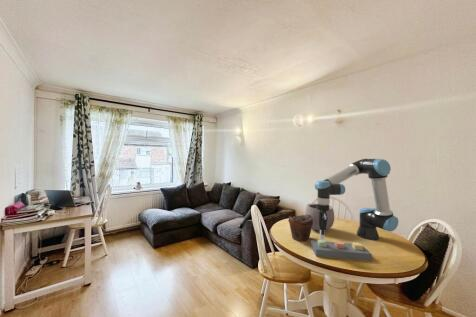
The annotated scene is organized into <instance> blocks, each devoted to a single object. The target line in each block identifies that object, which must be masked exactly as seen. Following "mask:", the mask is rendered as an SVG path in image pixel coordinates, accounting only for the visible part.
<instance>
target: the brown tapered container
mask: <svg viewBox="0 0 476 317" xmlns="http://www.w3.org/2000/svg"><path fill="white" fill-rule="evenodd" d="M287 222H288V223H289V227H290V232H291V238H292V239H293V240H295V241H298V242H307V241H309V240H310V237H311V233H312V232H311V231H312V225H313V218H312V216H311V215H305V214H301V215H296V216H294V215H292V216H291V215H289V217H288V219H287Z"/></svg>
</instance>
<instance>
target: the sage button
mask: <svg viewBox="0 0 476 317" xmlns="http://www.w3.org/2000/svg"><path fill="white" fill-rule="evenodd" d="M317 241H318V243H317V245H318V246H319V247H327V242H328V241H327V240H326V239H317Z"/></svg>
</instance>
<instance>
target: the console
mask: <svg viewBox="0 0 476 317" xmlns="http://www.w3.org/2000/svg"><path fill="white" fill-rule="evenodd" d="M326 242H327V247H319V246H318V245H317V243H318V240H311V241H310V246H311V249H312V251H313V254H314V255H315V257H318V258H320V257H322V258H330V259H343V260H355V261H366V262H372V258H373V256H372V252H370V251H369V250H368V249H367V248H366V247H365V246H364V245H363V244H361V245H362V246H363V250H354V249H353V248H352V242H351V243H350V242H349V243H348V242H343V243H344V244H345V249H340V248H336V247H335V246H334V242H335V241H326Z"/></svg>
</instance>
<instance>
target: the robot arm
mask: <svg viewBox="0 0 476 317" xmlns="http://www.w3.org/2000/svg"><path fill="white" fill-rule="evenodd" d="M391 170H392V169H391V165H390V163H389V161H388V160H386V159H383V158H362V159H359V160H355V161H354V162H352V163H350V164H349V165H348V166H347V167H346V168H344V169H342V170H340V171H338V172H336V173H334V174H333V175H330V176H329V177H327V178H325V179H324V180H317V181H315V183H314V188H315V190H316V191H317V198H316V201H317V203H316V204H317V209H318V210H320V212H318V213H319V227H320V231H319V240H325V239H326V238H325V234H326V231H327V230H326V225H327V219H328V217H326V216H327V213H326V211H329V206H330V201H331V200H330V198H331V197H330V196H342V195H344V194H345V193H346V186H345V185H344V184H343V182H345V181H347V180H349V179H350V178H352V177H353V176H358V175H362V174H364V175H365V174H367V175H368V177H367V178H368V179H370V180H371V187H372V192H373V198H374V204H375V208H374V207H362V208H360V209H359V226H358V228H357V231H356V236H358V237H359V238H362V239H366V240H371V241H377V240H378V241H379V238H380V237H379V232H378V229H381V230H383V231H387V232H393V231H395V230H396V229H397V228H398V226H399V219H398V217H396V215H394V211H393V210H391V207H390V202H389V200H390V199H389V195H388V186H387V181H386V179H387V178H388V175H390V173H391ZM377 228H378V229H377ZM325 230H326V231H325Z"/></svg>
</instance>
